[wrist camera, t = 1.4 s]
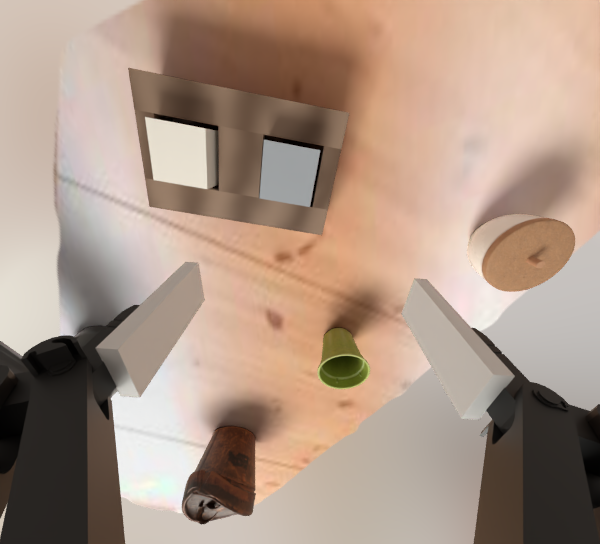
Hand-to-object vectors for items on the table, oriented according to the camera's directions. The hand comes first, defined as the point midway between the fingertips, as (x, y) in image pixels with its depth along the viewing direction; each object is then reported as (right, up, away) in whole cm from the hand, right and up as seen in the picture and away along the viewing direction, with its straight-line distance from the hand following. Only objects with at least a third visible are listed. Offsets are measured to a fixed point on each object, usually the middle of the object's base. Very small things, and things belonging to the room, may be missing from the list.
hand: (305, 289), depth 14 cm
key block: (-7, +17, +18) cm, 26 cm away
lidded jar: (+31, +7, +23) cm, 39 cm away
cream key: (-13, +16, +14) cm, 25 cm away
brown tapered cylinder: (-21, -49, +55) cm, 77 cm away
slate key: (-2, +14, +14) cm, 20 cm away
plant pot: (+8, -13, +34) cm, 38 cm away
